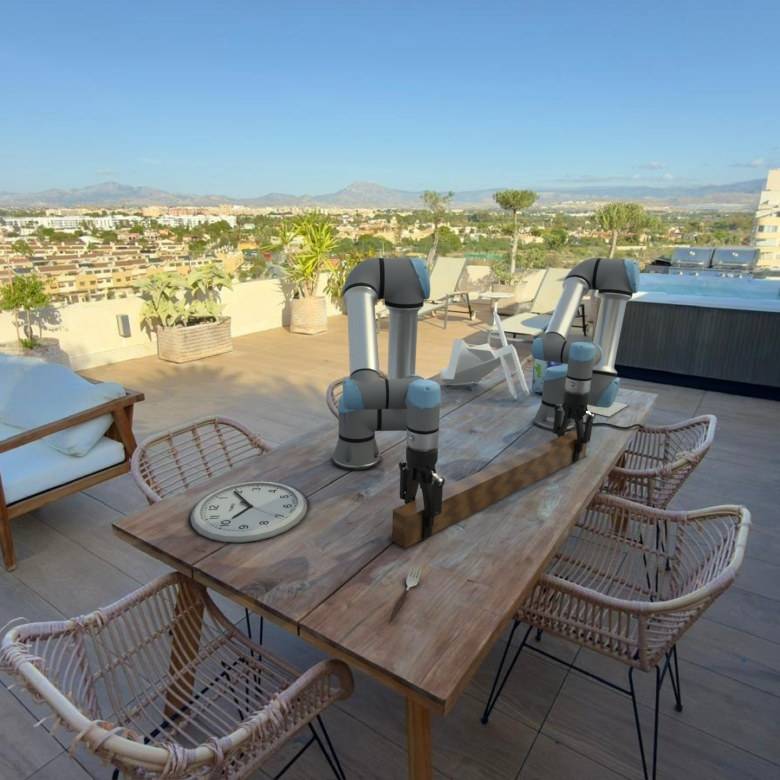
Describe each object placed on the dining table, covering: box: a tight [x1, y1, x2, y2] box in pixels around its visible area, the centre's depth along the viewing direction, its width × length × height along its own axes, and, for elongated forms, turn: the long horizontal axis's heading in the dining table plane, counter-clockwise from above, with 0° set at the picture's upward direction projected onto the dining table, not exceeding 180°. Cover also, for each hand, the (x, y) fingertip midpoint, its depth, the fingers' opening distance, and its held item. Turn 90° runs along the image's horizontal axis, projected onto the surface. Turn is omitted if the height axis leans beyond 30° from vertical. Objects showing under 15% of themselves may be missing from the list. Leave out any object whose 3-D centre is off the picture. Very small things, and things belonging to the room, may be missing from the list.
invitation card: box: [587, 401, 629, 418], centre depth 226 cm, size 21×1×15 cm
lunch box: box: [531, 358, 568, 394], centre depth 244 cm, size 26×11×21 cm, turn 135°
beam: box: [391, 428, 588, 549], centre depth 151 cm, size 83×5×8 cm, turn 131°
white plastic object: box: [438, 310, 531, 400], centre depth 245 cm, size 37×45×31 cm
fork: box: [391, 565, 422, 620], centre depth 108 cm, size 3×16×2 cm, turn 160°
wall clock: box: [190, 481, 308, 544], centre depth 139 cm, size 30×2×30 cm
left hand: (418, 531), depth 130 cm, fingers closed on beam, 5 cm apart
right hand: (568, 457), depth 174 cm, fingers closed on beam, 5 cm apart
